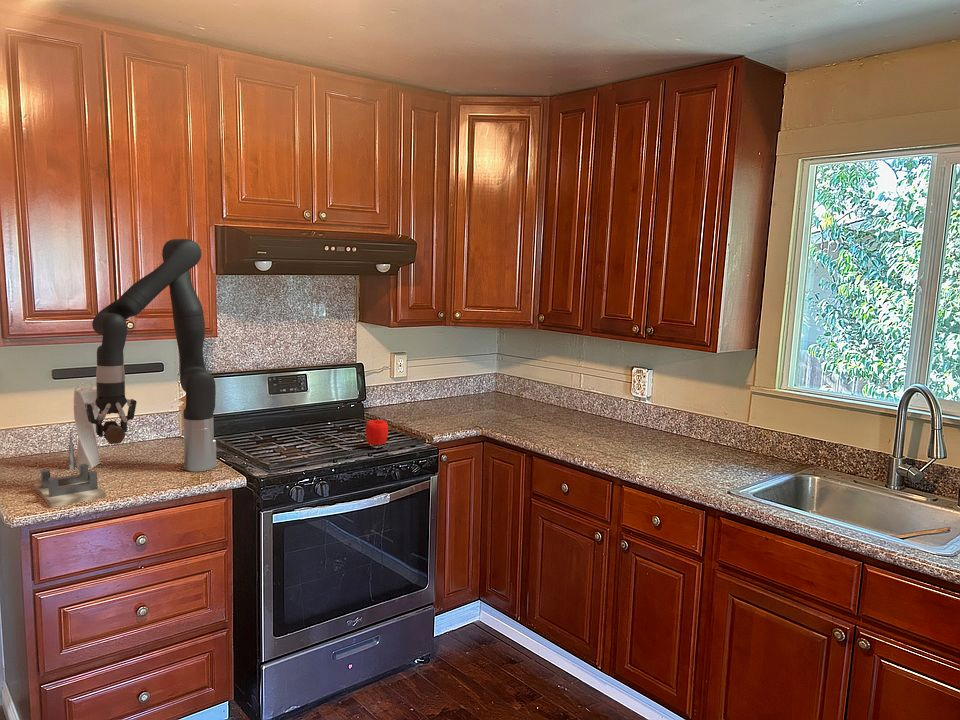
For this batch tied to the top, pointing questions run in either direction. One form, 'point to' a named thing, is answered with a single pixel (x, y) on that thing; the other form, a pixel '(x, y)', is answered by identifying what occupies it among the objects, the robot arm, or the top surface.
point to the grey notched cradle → (69, 482)
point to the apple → (376, 432)
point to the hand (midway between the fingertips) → (111, 435)
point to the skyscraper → (84, 429)
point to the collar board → (68, 496)
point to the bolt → (113, 432)
